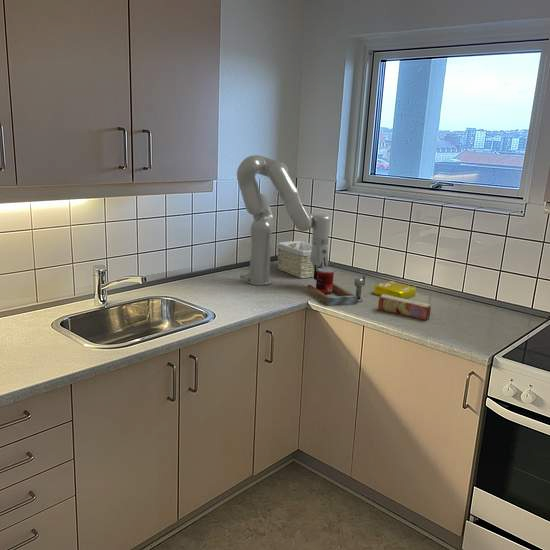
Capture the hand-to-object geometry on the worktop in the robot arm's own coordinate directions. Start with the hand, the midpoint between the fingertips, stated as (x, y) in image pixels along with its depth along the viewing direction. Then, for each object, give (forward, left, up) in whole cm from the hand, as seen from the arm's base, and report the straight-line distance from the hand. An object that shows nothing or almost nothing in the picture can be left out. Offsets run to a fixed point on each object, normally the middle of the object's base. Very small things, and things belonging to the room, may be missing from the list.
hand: (317, 279), depth 262 cm
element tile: (+32, -17, -5) cm, 37 cm away
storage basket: (+3, +28, -4) cm, 28 cm away
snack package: (+20, -43, -5) cm, 48 cm away
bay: (0, -15, -4) cm, 15 cm away
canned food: (0, -8, -4) cm, 9 cm away
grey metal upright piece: (+9, -23, -4) cm, 25 cm away
